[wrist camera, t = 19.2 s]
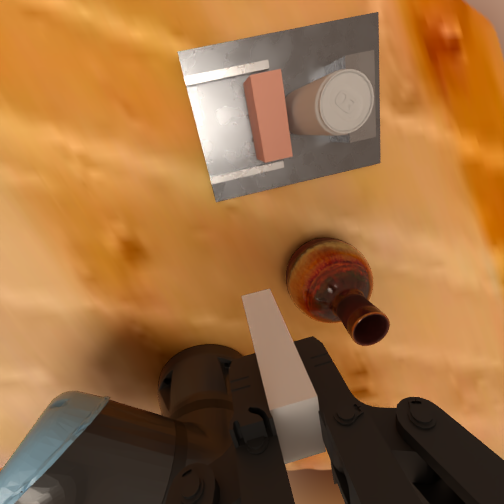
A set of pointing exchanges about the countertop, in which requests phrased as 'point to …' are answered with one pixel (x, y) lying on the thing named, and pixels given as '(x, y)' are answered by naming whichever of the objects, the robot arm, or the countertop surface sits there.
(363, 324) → the vase
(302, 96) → the beverage can
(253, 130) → the block
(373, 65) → the grey vise base
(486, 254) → the countertop surface
